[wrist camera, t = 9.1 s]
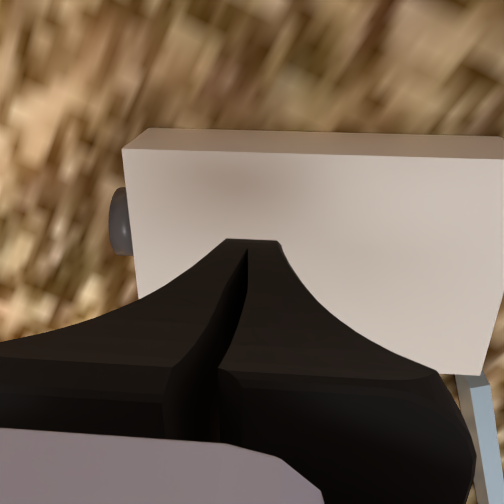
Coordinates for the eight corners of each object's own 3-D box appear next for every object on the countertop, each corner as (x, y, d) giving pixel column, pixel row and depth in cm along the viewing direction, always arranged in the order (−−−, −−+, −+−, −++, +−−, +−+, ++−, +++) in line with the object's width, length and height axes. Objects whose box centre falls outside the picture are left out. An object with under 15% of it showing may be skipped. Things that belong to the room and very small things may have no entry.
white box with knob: (499, 136, 19) (540, 160, 16) (454, 326, 23) (479, 376, 20) (125, 127, 20) (93, 147, 17) (145, 311, 24) (122, 355, 21)
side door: (449, 344, 23) (470, 388, 20) (484, 337, 22) (510, 381, 20) (480, 521, 28) (500, 574, 25) (509, 517, 28) (532, 571, 25)
